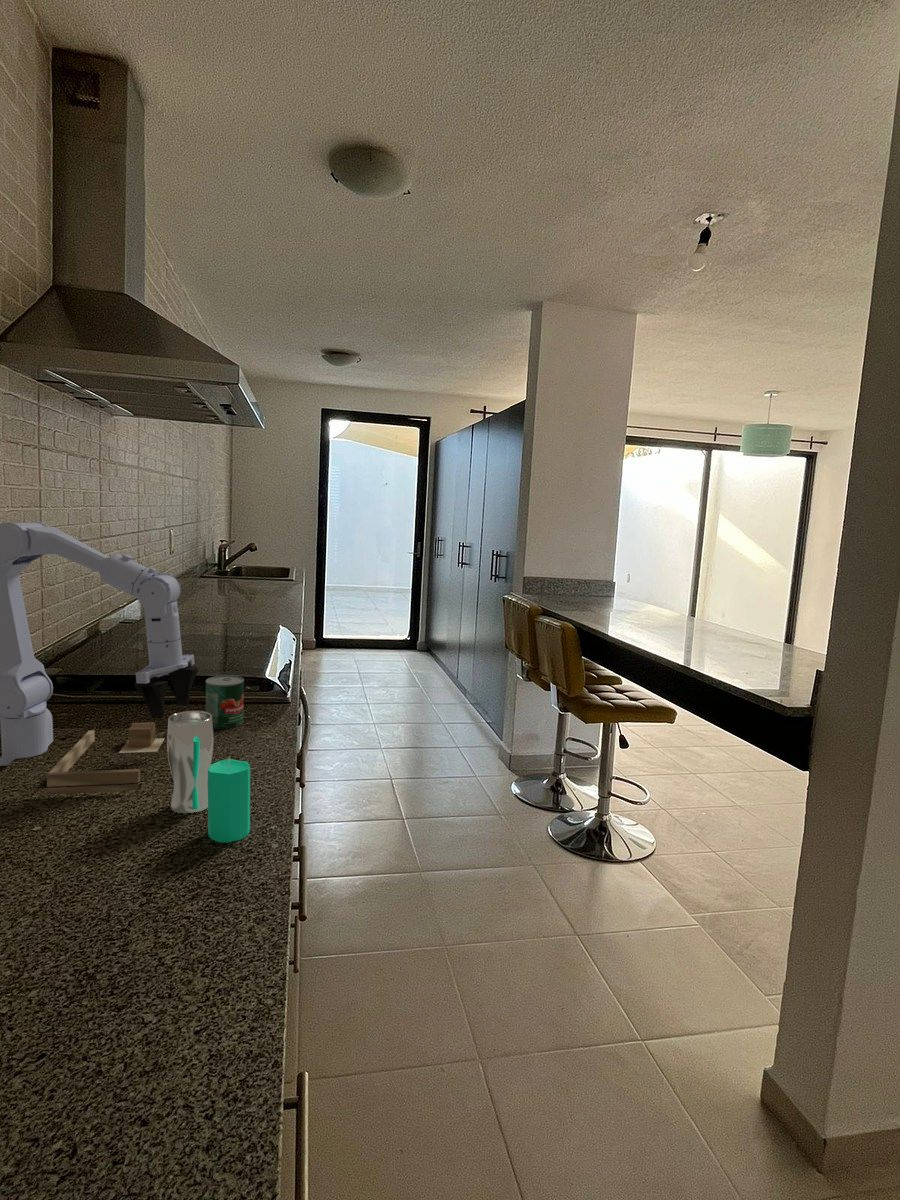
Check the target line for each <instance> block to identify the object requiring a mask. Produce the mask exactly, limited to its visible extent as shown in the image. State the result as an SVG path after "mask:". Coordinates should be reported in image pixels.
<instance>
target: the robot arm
mask: <svg viewBox="0 0 900 1200" xmlns="http://www.w3.org/2000/svg"><path fill="white" fill-rule="evenodd" d="M45 555H56V556H59V557H62V558H64V559H66V560H69V561H70V562H74V564H75V563H76V564H77V565H80V566H83V567H85V568H87V569H90V570H93V571H94V572H97V573H98V574H99V576H100V579H101V581H102V583H105V584H107V586H108V585H109V586H111V587H113V588H115V589H117V590H119V591H121V592H123V593H126V594H128V595H130V596H132V597H134V598H136V599H137V601H138V602H139V604H140V605H141V606H142V607H143V609H144V620H145V622H144V623H145V631H146V632H145V635H146V642H147V643H146V644H147V645H146V646H147V653H148V662H149V663H148V665H147V666H145V667H144V668H142V669H141V670H139V671H137V672H135V681H134V688H135V689H136V690H137V691H138V692H139V693H140V695H141V696H142V698H143V701H144V702H145V704H146V706H147V709H148V711H149V714H150V716H151V719H163V718H165V707H166V706H165V703H166V702H165V699H166V698H165V697H166V691H167V687H168V685H169V681H167V680H165V681H163V680H161V679H159V678H160V677H163V676H165V675H168V676H169V679H170V681H171V684H172V687H173V692H174V698H175V699H174V700H175V702H176V703H175V704H177V706H181V707H182V706H183V707H184V706H185V707H188V706H189V705H190V699H191V694H192V690H193V689H192V688H193V685H194V681H195V678H196V676H197V674H198V672H199V667H198V666H194V665H195V664H196V663H195V655H194V654H183V647H182V638H181V628H180V627H181V626H180V616H179V615H180V614H179V608H178V601H177V600H178V599H179V598H180V595H181V592H182V588H181V584H180V582H179V580H178V579H177V578H176V577H175V576H173V575H172V574H170V573H168V572H161V573H158V572H157V569H156V568H154V567H150V568H148V567H146V566H144V565H142V564H140V563H138V562H137V561H134V560H133V556H132V555H130V554H126V553H125V554H123V555H122V554H119V553H118V554H114V555H112V556H108V555H107V554H104V553H103V552H101V551H99V550H97V549H95V548H93V547H92V546H89V545H88V544H86V543H84V542H82V541H80V540H78V539H76V538H75V537H72V536H71V535H69V534H67V533H65V532H63V531H62V529H59V528H57V527H54V526H49V525H48V524H46V523H44V522H42V521H39V520H38V521H37V520H35V521H30V522H29V521H28V522H8V521H7V522H2V523H0V739H1V740H0V741H1V742H0V744H1V756H0V767H6V766H7V767H8V766H10V764H11V763H12V762H14V761H15V760H17V759H25V758H26V759H27V758H32V757H36V756H39V755H41V754H44V753H45V752H47V751H48V749H49V746H50V745H51V744H53V742H54V727H53V726H54V725H53V722H54V721H53V715H52V713H51V711H50V710H49V709H48V708H47V701H48V700H49V699H50V698H51V697H52V695H53V692H54V686H53V682H52V680H51V679H50V677H49V676H48V674H47V673H46V669H45V666H44V664H43V663H42V662H41V661H39V660H38V659H37V658H36V657H35V654H34V653H35V652H34V649H33V642H32V638H31V632H30V626H29V622H28V616H27V610H26V607H25V605H26V604H25V601H24V594H23V591H22V585H21V580H20V574H21V573H22V572H23V571H24V570H25V569H27V567H28V566H29V565H30V564H31V563H32V562H34V561H35V560H38V559H39V558H41V557H43V556H45Z"/></svg>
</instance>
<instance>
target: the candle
mask: <svg viewBox="0 0 900 1200" xmlns="http://www.w3.org/2000/svg"><path fill="white" fill-rule="evenodd" d="M250 831H251V765H250V764H249V762H248V761H246V760H244V761H243V760H238V759H232V758H231V757H230V756H228V758H227V759H222V760H217V761H216V762H214V763H211V765H210V767H209V769H208V808H207V836H208V835H209V836H208V838H209V839H210V838H211V839H213V840H215V841H214V842H216V841H217V843H232V841H233V842H237V841H241V840H243V839H244V838H246V837H247V836H248V835H249V834H250ZM211 839H210V840H211ZM213 840H212V841H213Z"/></svg>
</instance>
